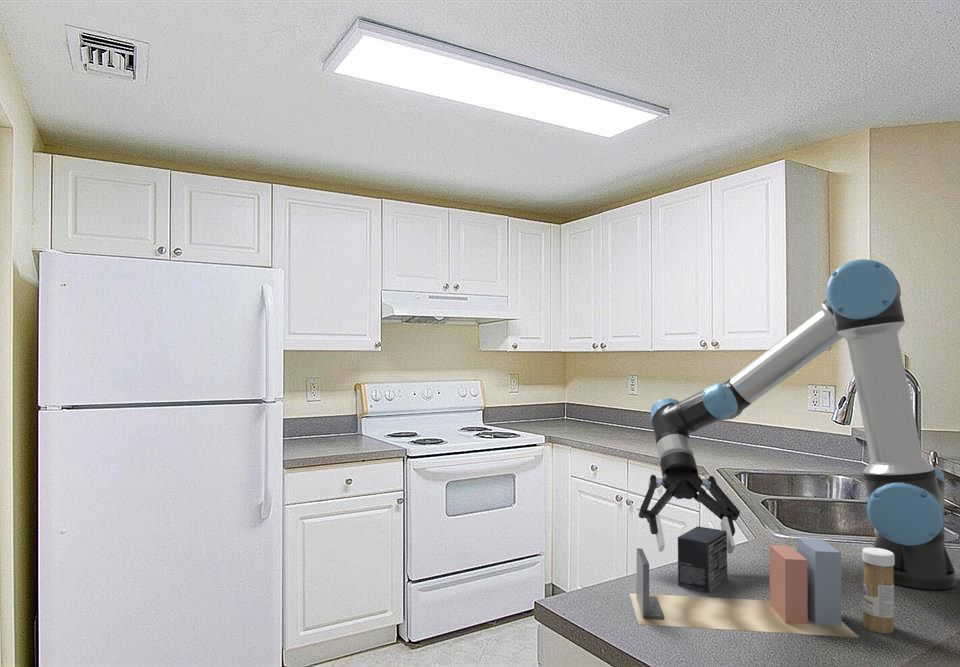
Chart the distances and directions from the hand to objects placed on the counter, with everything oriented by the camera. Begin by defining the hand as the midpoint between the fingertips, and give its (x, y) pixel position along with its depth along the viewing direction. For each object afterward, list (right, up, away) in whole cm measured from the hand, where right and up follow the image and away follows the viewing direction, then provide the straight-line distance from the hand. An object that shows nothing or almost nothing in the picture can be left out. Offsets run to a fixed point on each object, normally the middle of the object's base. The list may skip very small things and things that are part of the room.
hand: (696, 549), depth 128 cm
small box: (+1, -7, -2) cm, 7 cm away
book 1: (+10, -5, -17) cm, 21 cm away
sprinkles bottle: (+22, -7, -22) cm, 32 cm away
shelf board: (+1, -6, -17) cm, 18 cm away
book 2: (+15, -5, -18) cm, 24 cm away
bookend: (-13, -5, -15) cm, 21 cm away
